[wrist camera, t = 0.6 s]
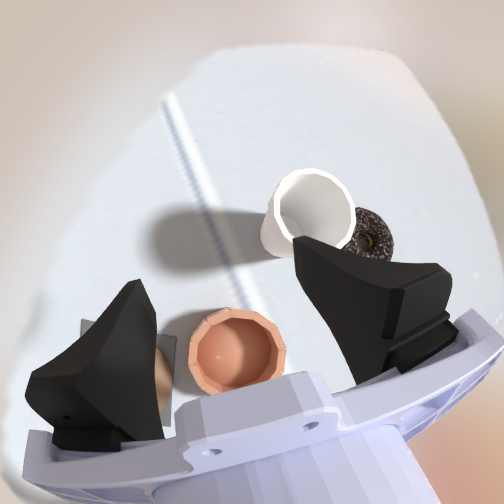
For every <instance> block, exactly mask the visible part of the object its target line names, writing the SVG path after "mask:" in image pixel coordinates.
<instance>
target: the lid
mask: <svg viewBox="0 0 504 504" xmlns="http://www.w3.org/2000/svg"><path fill="white" fill-rule="evenodd" d="M155 383H156V393H157V401H158V408H159V413H160V412H161V411H162V410H163V408H164V407H165V406H166V404H167V402H168V400H169V398H170V395H171V391H172V374H171V370H170V367H169V364H168V362H167V360H166V358H165V356H164V355H163V353H162V352H161V350H160V349H159V348H158V347H157V346H156V355H155Z"/></svg>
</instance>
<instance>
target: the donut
mask: <svg viewBox="0 0 504 504" xmlns="http://www.w3.org/2000/svg"><path fill="white" fill-rule="evenodd" d="M355 215H356V225H355V228H354V231H353V234H352V237H351V240H350V241H349V242H348V243H346V244H345V245H344V246H343V247H342V248H341V249H342V250H345V251H348V252H351V253H354V254H357V255H361V256H365V257H369V258H373V259H378V260H384V261H390V260H391V257H392V254H393V246H394V245H393V244H394V242H393V237H392V235H391V232H390V230H389V228H388V226H387V225H386V223H385V222H384V221H383V220H382V218H381V217H380V216H379V215H377V214H376V213H374V212H372V211H370V210H367V209H364V208H360V207H358V208H355ZM359 234H360V235H362V234H364V235H366V236H367V238H368V239H369V242H370V246H369V250H368V251H367V252H365V251H363V250H362V249H361V248H360V246H359V243H358V235H359Z"/></svg>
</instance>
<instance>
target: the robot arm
mask: <svg viewBox="0 0 504 504" xmlns="http://www.w3.org/2000/svg"><path fill="white" fill-rule="evenodd" d="M292 242H293V251H294V261H295V272H296V276H297V278H298V280H299V282H300V284H301V286H302V288H303V290H304V292H305V293H306V295H307V296H308V298H309V299H310V301H311V302H312V303H313V305H314V306H315V308H316V309H317V310H318V312H319V313H320V315H321V316H322V318H323V319H324V320H325V322H326V323H327V325H328V327H329V328H330V330H331V332H332V334H333V335H334V337H335V339H336V341H337V343H338V345H339V347H340V349H341V351H342V353H343V355H344V357H345V360H346V362H347V364H348V366H349V368H350V371H351V373H352V375H353V378H354V380H355V383H356V385H357V386H355V387H352V388H350V389H348V390H346V391H342V392H338V393H333V394H331V393H330V391H329V389H328V387H327V385H326V383H325V381H324V380H323V378H322V376H321V374H316V373H311V372H306V371H303V372H298V373H292V374H287V375H284V376H281V377H277V378H274V379H271V380H267V381H264V382H261V383H257V384H253V385H250V386H246V387H242V388H239V389H235V390H231V391H227V392H222V393H218V394H214V395H209V396H204V397H200V398H197V399H195V400H192V401H189V402H186V403H184V404H183V405H182V406H181V407H180V408H179V409H178V410H177V411H176V412H175V413H174V417H175V428H176V436H175V437H172V438H168V439H165V437H164V433H163V429H162V424H161V419H160V414H159V408H158V401H157V393H156V383H155V355H156V338H157V323H156V312H155V310H154V308H153V306H152V304H151V301H150V299H149V297H148V295H147V293H146V291H145V288H144V286H143V284H142V282H141V279H137V280H133V281H129V282H128V283H127V284H126V285H125V286H124V287H123V288H122V289H121V291H120V292H119V293H118V295H117V296H116V297H115V298H114V300H113V301H112V302H111V304H110V305H109V306H108V307H107V309H106V310H105V311H104V312H103V313H102V315H101V316H100V317H99V318H98V319H97V321H96V322H95V323H94V324H93V325H92V326H91V327H90V328H89V329H88V330H87V331H86V332H85V333H84V334H83V335H82V336H81V337H80V338H79V339H78V340H77V341H76V342H74V343H73V344H72V345H71V346H70V347H69V348H67V349H66V350H65V351H64V352H62V353H61V354H60V355H58V356H57V357H55V358H54V359H53V360H51V361H50V362H48V363H46V364H45V365H43V366H41V367H40V368H38V369H36V370H34V371H33V372H32V373H31V376H30V379H29V382H28V385H27V389H26V392H25V398H26V401H27V402H28V404H29V405H30V407H31V408H32V409H33V410H34V411H35V412H36V413H37V414H38V415H40V416H41V417H42V418H43V419H44V420H45V421H47V422H48V423H49V424H50V425H52V426H53V427H54V432H53V434H52V433H50V432H47V431H40V430H29V434H28V440H27V445H26V451H25V458H24V466H23V474H22V477H23V479H24V480H26V481H28V482H30V483H32V484H33V485H35V486H37V487H39V488H41V489H43V490H45V491H47V492H49V493H52V494H54V495H56V496H58V497H61V498H63V499H67V500H71V501H76V502H81V503H86V504H441V502H440V501H439V499H438V497H437V495H436V494H435V492H434V490H433V488H432V487H431V485H430V483H429V481H428V480H427V478H426V476H425V474H424V473H423V471H422V469H421V468H420V466H419V464H418V462H417V461H416V459H415V457H414V456H413V454H412V452H411V451H410V449H409V447H408V446H407V444H406V442H408V441H409V440H411V439H412V438H413V437H415V436H416V435H418V434H419V433H420V432H422V431H423V430H425V429H426V428H427V427H429V426H430V425H431V424H433V423H434V422H435V421H437V420H438V419H439V418H440V417H442V416H443V415H444V414H445V413H447V412H448V411H449V410H450V409H451V408H452V407H454V406H455V405H456V404H457V403H458V402H460V401H461V400H462V399H463V398H464V397H465V396H466V395H467V394H469V393H470V392H471V391H472V390H473V389H474V388H475V387H476V386H477V385H479V384H480V383H481V382H482V381H483V380H484V378H485V377H486V376H487V374H488V373H489V372H490V370H491V369H492V367H493V366H494V364H495V363H496V361H497V360H498V358H499V357H500V355H501V353H502V352H503V350H504V338H503V337H502V336H501V335H500V334H499V333H498V332H497V331H496V330H495V329H494V328H493V327H492V326H491V325H490V324H489V323H488V322H487V321H486V320H485V319H484V318H483V317H482V316H481V315H479V314H478V313H477V312H476V311H475V310H474V309H470V310H469V311H467V312H466V313H464V314H463V315H462V316H460V317H459V318H458V319H456V320H455V322H454V323H453V324H452V323H451V322H450V321H449V320H448V319H449V318H450V314H449V313H448V312H447V311H446V310H445V309H446V306H447V303H448V300H449V296H450V293H451V289H452V277H451V274H450V273H449V272H447V271H446V270H445V269H444V268H442V267H441V266H440V265H439V264H437V263H400V262H391V261H384V260H378V259H373V258H369V257H365V256H361V255H357V254H354V253H351V252H348V251H345V250H342V249H339V248H337V247H334V246H331V245H329V244H326V243H324V242H321V241H319V240H316V239H314V238H311V237H308V236H305V235H304V236H300V237H296V238H292Z"/></svg>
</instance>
